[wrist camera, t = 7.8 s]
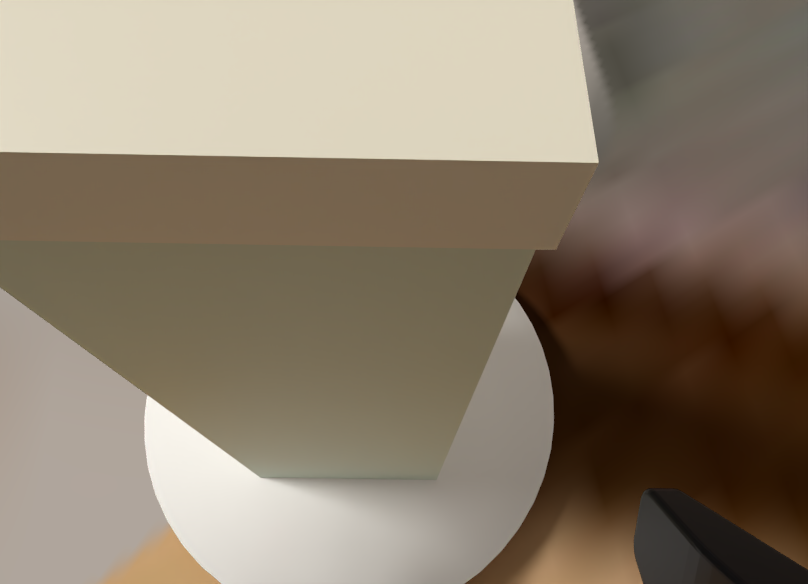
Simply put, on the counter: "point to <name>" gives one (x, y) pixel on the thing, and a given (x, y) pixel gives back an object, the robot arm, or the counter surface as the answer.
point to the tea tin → (290, 206)
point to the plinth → (368, 492)
